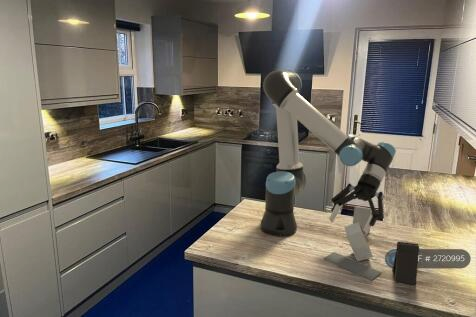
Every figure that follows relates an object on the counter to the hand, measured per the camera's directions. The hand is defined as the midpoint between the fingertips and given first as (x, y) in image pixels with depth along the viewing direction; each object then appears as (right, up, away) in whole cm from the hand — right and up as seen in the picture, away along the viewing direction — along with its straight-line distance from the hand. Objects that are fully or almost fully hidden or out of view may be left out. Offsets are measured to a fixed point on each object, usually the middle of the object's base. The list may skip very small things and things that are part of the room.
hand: (347, 226), depth 130 cm
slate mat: (-1, -12, -7) cm, 14 cm away
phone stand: (+14, -14, -13) cm, 24 cm away
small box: (+6, -10, -2) cm, 11 cm away
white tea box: (+12, -6, +20) cm, 24 cm away
